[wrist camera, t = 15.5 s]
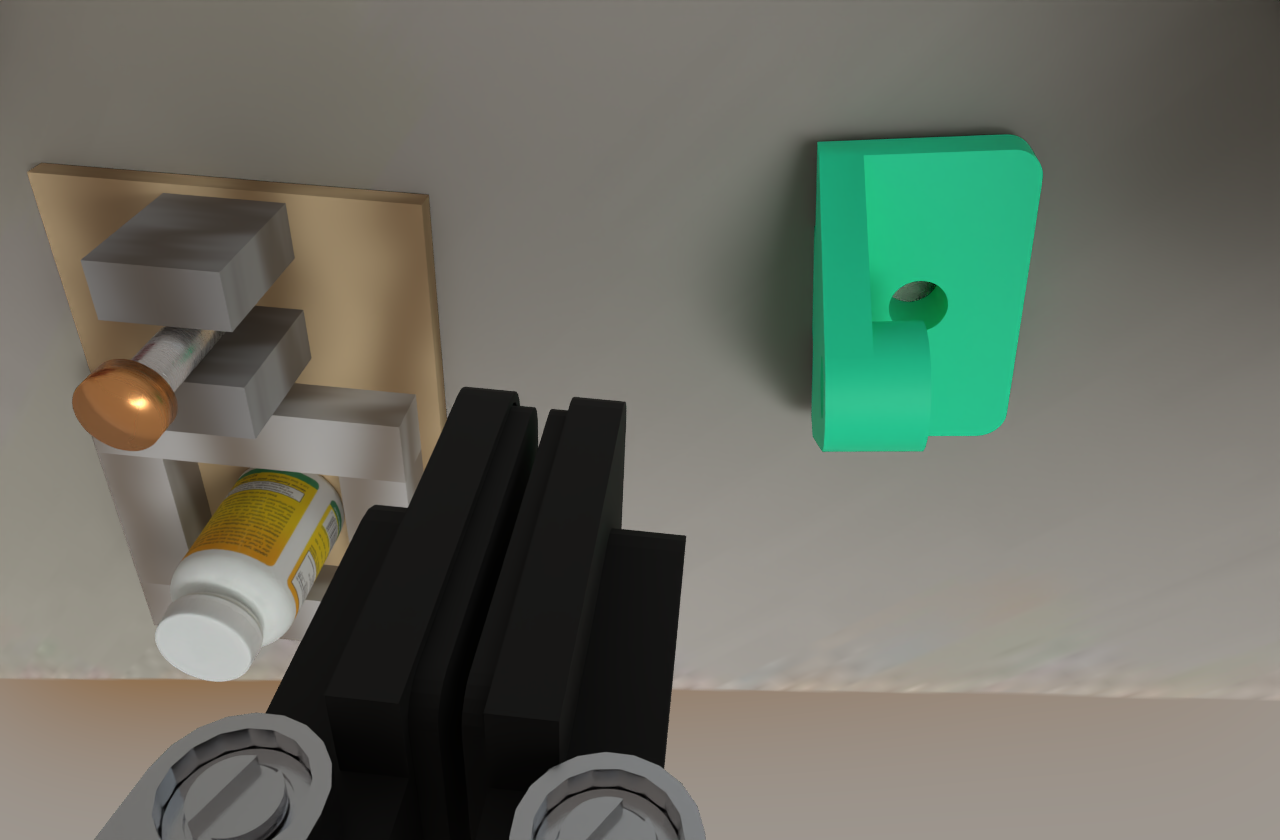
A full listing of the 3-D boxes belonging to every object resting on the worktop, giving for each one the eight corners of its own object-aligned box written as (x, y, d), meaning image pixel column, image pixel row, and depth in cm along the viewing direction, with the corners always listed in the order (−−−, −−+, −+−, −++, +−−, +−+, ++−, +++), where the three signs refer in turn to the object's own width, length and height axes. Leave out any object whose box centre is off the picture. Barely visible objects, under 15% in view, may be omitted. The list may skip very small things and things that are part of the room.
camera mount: (991, 399, 44) (1045, 565, 35) (810, 401, 45) (820, 562, 36) (1031, 122, 37) (1108, 246, 28) (816, 131, 38) (830, 253, 29)
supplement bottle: (369, 519, 50) (295, 672, 42) (289, 556, 52) (204, 708, 44) (295, 439, 47) (201, 586, 39) (214, 481, 49) (110, 628, 41)
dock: (428, 194, 41) (373, 275, 35) (461, 605, 54) (425, 713, 48) (41, 162, 41) (-75, 236, 36) (168, 574, 55) (98, 676, 49)
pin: (262, 257, 41) (149, 382, 33) (274, 323, 43) (169, 455, 35) (189, 251, 41) (61, 373, 34) (204, 316, 43) (86, 446, 35)
